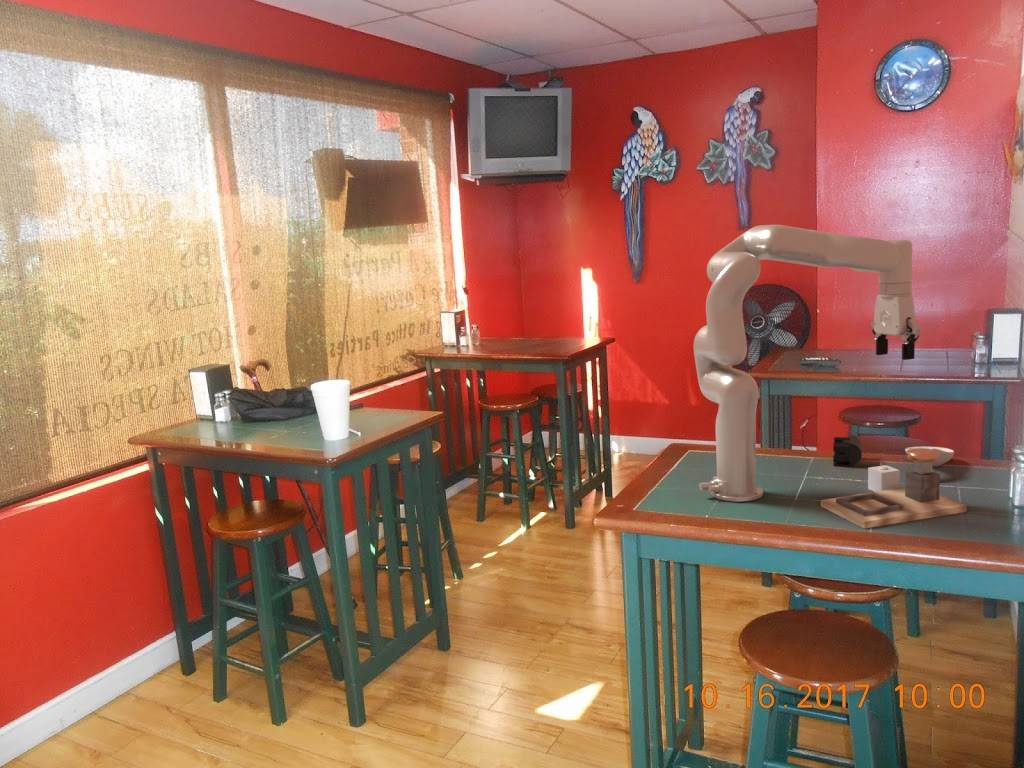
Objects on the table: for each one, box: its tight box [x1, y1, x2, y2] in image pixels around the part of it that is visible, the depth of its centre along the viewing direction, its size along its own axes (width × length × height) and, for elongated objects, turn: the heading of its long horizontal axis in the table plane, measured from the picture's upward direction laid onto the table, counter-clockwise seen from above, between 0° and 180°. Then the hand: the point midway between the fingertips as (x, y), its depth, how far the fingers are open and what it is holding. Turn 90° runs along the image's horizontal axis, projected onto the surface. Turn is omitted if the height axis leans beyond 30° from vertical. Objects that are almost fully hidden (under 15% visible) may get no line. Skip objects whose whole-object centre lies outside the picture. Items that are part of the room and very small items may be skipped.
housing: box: [867, 464, 901, 492], centre depth 199 cm, size 5×5×6 cm
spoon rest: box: [904, 446, 955, 472], centre depth 213 cm, size 24×12×7 cm, turn 150°
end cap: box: [832, 434, 863, 468], centre depth 223 cm, size 10×7×7 cm
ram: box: [906, 448, 939, 476], centre depth 187 cm, size 6×6×7 cm
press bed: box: [820, 469, 968, 529], centre depth 186 cm, size 26×16×8 cm, turn 103°
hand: (894, 356), depth 208 cm, fingers open, 9 cm apart
